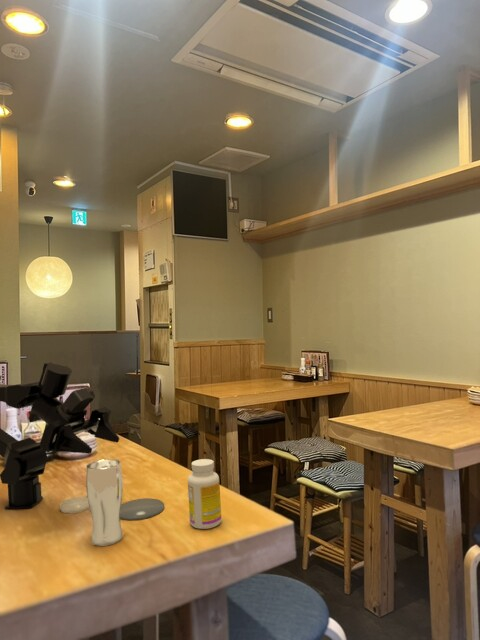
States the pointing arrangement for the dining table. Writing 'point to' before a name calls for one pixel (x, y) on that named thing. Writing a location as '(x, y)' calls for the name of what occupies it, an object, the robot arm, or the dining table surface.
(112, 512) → the beer glass
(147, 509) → the coaster
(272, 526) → the dining table surface
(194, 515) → the supplement bottle
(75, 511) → the dish
